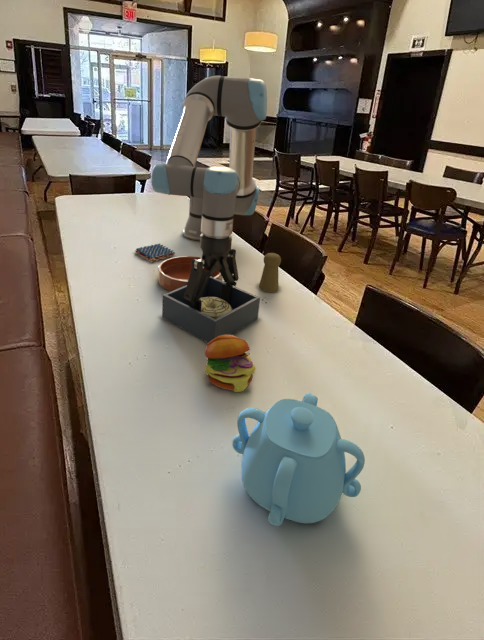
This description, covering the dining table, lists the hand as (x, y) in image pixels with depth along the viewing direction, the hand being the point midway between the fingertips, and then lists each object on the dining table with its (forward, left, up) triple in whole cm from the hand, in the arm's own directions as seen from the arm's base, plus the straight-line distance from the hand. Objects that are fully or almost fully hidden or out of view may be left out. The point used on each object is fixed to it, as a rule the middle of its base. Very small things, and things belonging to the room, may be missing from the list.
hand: (210, 314), depth 107 cm
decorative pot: (+28, +41, -1) cm, 50 cm away
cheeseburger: (+15, +18, -1) cm, 23 cm away
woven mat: (-18, -42, -1) cm, 46 cm away
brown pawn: (-27, 0, -1) cm, 27 cm away
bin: (0, 0, -1) cm, 1 cm away
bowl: (-12, -19, -1) cm, 23 cm away
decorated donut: (0, 0, -1) cm, 1 cm away
